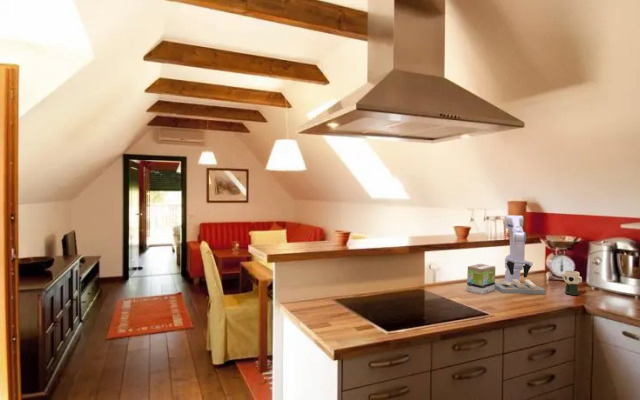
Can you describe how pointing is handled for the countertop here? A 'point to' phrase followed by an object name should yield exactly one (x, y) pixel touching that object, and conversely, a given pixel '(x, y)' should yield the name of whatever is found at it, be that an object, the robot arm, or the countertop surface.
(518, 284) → the rocker
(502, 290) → the panel
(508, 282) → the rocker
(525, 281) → the rocker
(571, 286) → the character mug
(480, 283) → the tea box
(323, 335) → the countertop surface
